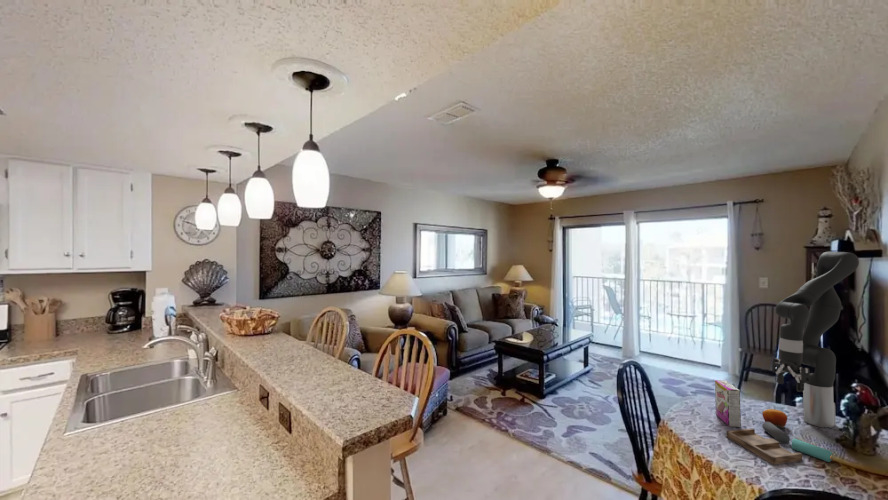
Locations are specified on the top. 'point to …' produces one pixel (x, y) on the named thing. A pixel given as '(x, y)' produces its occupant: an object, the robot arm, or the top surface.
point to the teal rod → (811, 450)
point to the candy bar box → (728, 403)
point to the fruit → (775, 417)
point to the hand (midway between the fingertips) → (789, 387)
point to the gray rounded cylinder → (776, 432)
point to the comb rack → (763, 446)
